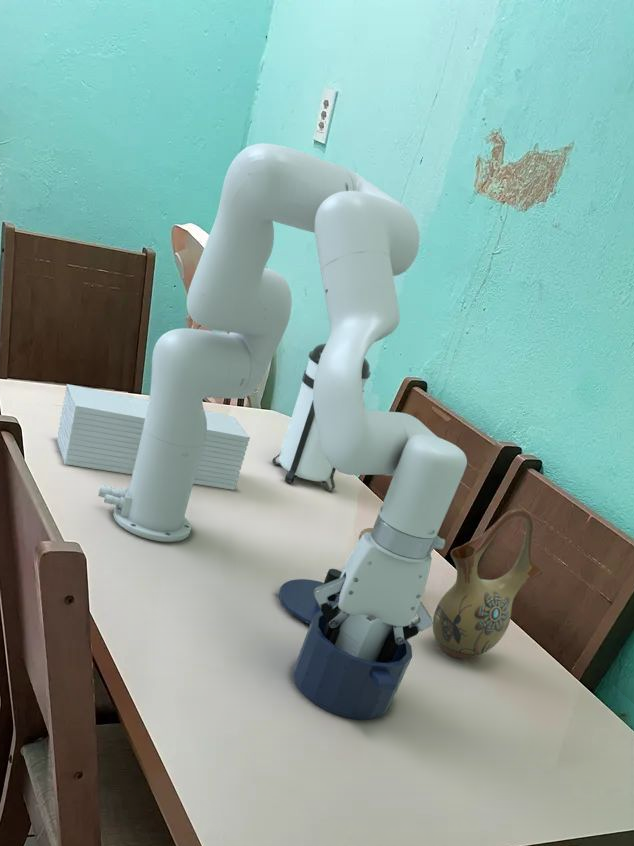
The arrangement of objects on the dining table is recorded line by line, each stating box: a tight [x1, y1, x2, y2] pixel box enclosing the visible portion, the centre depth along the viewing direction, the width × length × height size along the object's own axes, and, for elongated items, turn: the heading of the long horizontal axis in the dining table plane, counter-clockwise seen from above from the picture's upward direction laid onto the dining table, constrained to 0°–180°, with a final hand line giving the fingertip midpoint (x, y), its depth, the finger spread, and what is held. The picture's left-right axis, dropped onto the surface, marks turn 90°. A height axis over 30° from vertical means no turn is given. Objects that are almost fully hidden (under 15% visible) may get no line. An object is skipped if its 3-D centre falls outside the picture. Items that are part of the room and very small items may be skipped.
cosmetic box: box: [335, 614, 392, 662], centre depth 114 cm, size 6×4×12 cm
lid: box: [278, 568, 343, 625], centre depth 133 cm, size 15×15×7 cm
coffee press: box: [272, 342, 372, 492], centre depth 178 cm, size 17×16×30 cm
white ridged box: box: [56, 383, 251, 491], centre depth 160 cm, size 32×11×11 cm, turn 110°
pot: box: [292, 601, 413, 720], centre depth 115 cm, size 14×19×8 cm
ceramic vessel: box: [432, 508, 545, 660], centre depth 130 cm, size 16×9×25 cm, turn 107°
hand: (354, 655), depth 114 cm, fingers closed on cosmetic box, 7 cm apart
